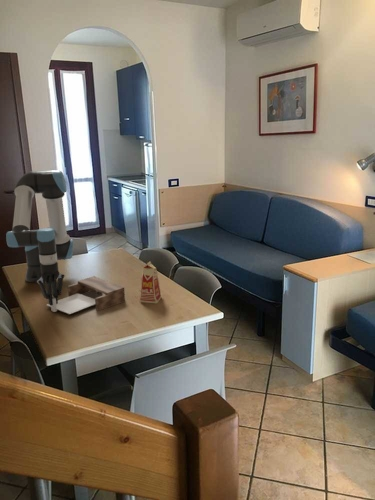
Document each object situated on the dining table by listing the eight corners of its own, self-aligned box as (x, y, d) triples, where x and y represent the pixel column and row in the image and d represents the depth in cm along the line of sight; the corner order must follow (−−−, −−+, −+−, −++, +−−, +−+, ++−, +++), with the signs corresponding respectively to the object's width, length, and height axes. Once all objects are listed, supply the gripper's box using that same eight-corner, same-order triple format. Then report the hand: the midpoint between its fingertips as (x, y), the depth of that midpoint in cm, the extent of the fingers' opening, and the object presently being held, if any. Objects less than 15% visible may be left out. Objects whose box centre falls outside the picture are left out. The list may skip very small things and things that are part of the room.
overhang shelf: (97, 310, 193) (96, 296, 191) (68, 296, 211) (67, 283, 209) (125, 301, 204) (124, 287, 202) (95, 288, 222) (94, 276, 220)
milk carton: (156, 303, 201) (155, 264, 195) (138, 302, 203) (136, 263, 197) (161, 296, 209) (160, 258, 204) (144, 295, 211) (142, 258, 206)
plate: (69, 318, 186) (69, 313, 186) (46, 308, 197) (45, 304, 197) (101, 305, 200) (101, 301, 200) (78, 296, 211) (77, 293, 211)
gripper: (39, 267, 179) (44, 317, 185) (66, 261, 187) (70, 309, 194) (31, 264, 184) (37, 312, 190) (58, 258, 193) (62, 304, 199)
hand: (54, 310), depth 192 cm, fingers closed
